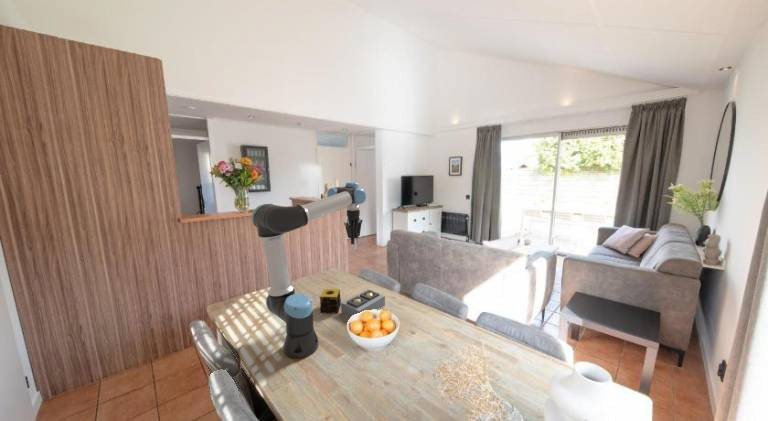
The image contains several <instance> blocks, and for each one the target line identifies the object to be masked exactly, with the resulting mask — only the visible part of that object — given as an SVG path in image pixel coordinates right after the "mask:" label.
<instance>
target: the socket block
mask: <svg viewBox="0 0 768 421" xmlns="http://www.w3.org/2000/svg"><path fill="white" fill-rule="evenodd" d="M368 292H371V293H373V296H371V297H368V296H366V293H368ZM355 299H360V300H361V302H360V303H358V304H356V303H354V300H355ZM383 306H384V307H385V306H386V295H383V294H381V293H378V292H376V291H373V290H371V289H366V290H364V291H361V292H359V293H357V294H356V295H353V296H352V297H350V298H348V299H346V300H343V301H341V305H340V310H341V313H342V314H343V315H345V316H348V317H349V318H351V316H352V315H354V314H357V313H360V312H362V311H364V310H372V309H379V308H381V307H382V308H383ZM382 308H381V309H382ZM379 310H380V309H379Z"/></svg>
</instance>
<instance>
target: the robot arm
mask: <svg viewBox="0 0 768 421" xmlns="http://www.w3.org/2000/svg"><path fill="white" fill-rule="evenodd" d="M366 199H367V193H366V191H365V190H364V189H363V188H360V185H359V182H357V181H356V182H354V181H352V182H346V183H345V186H337V187H330V188H328V190H327V197H324V198H321V199H320V198H319V199H317V200H315V201H311V202H309V203H306V204H304V205H302V204H295V205H291V206H285V205H284V206H283V205H277V204H273V203H261V204H260V205H258V206H256V208H255V209H253V211H252V214H251V222H252V223H253V224H252V225H253V226H255V228H256V229H257V235H258V237H259V238H260V239H261V240H262V242H263V247H264V254H265V260H266V266H267V271H268V278H269V284H270V288H269V289H268V291H267V294H268V295H267V296H266V299H265V305H266V308H267V309H268V311H269V312H270V313H271V314H272V315H274V316H276V317H277V318H279V319H281V321H282V322H284V323H285V330H286V335H285V339H284V344H283V353H284V355H285V356H286V357H288V358H289V359H295V360H298V359H303V358H306V357H309V356H310V355H313V353H315V352H316V351H317V349H318V348H319V345H320V344H319V338H318V336H317V333H316V330H315V329H314V311H313V310H314V306H313V303H312V302H313V300H312V299H311V297H310V296H309V295H308V294H304V293H296V291H295V285H294V283H293V284H292V283H291V280H290V273H289V267H288V261H287V253H286V246H285V239H284V236H285V235H286V233H289V232H292V231H296V230H298V229H300V228H303V227H306V226H307V225H309V222H312V221H315V220H317V219H319V218H321V217H324V216H326V215H329V214H332V213H334V212H337V211H339V210H342V209H344V208H346V217H347V219H346V222H343V225H344V226H345V231H346V235H347V238H348V239H350V244H351V250H355V251H357V248H358V246H357V245H358V239H359V237H360V236H361V232H362V231H361V229H362V224H363V219H361V218H360V215H361V211H360V205H361V204H363V203H365V201H366Z"/></svg>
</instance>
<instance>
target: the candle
mask: <svg viewBox="0 0 768 421" xmlns="http://www.w3.org/2000/svg"><path fill="white" fill-rule="evenodd" d="M319 301H320V302H319V304H320V305H319V307H320V308H319V310H320V311H319V312H320V313H321V314H338V313H339V311H340V310H341V303H342V299H341V289H340V288H323V290H322V292H321V294H320V295H319Z"/></svg>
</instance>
